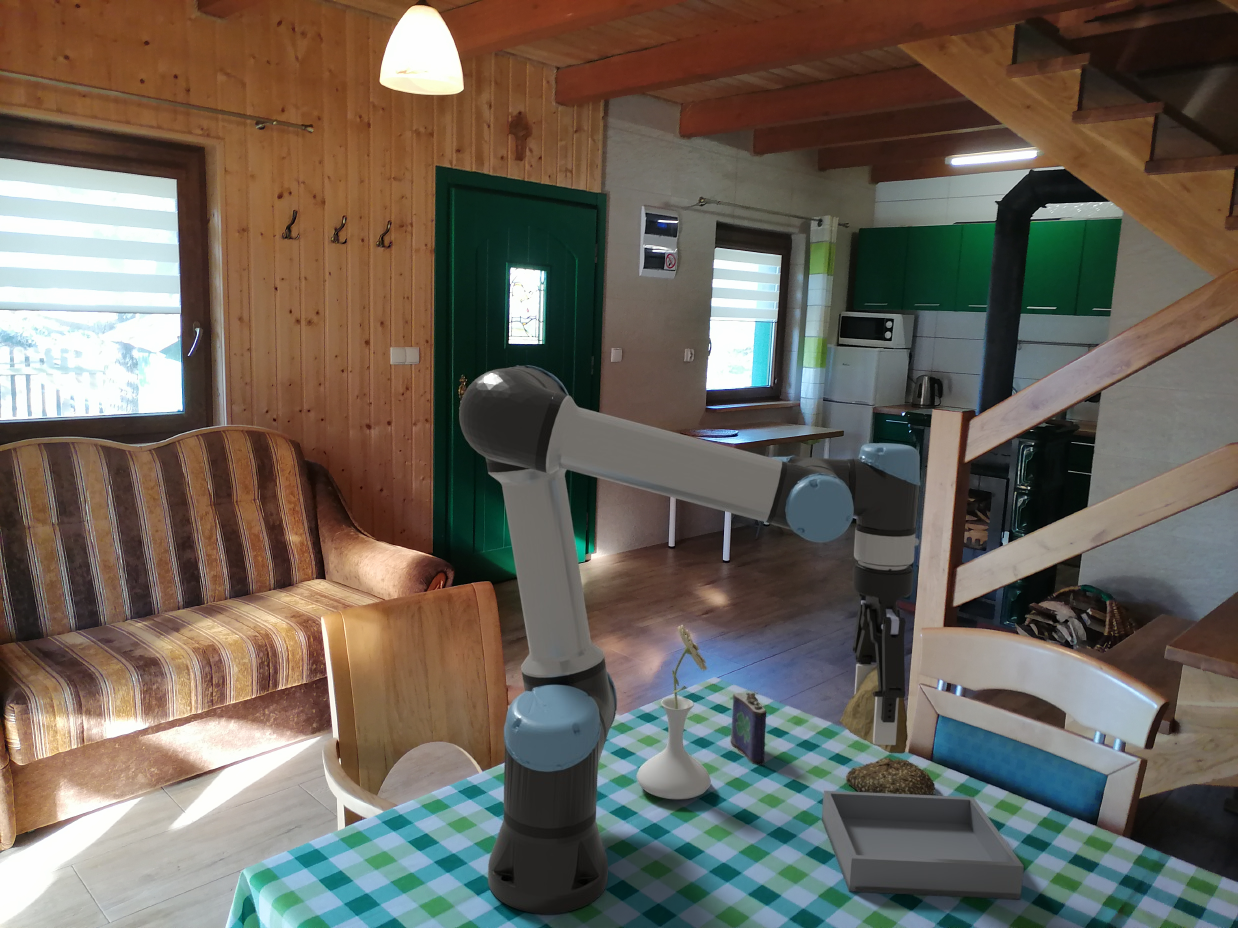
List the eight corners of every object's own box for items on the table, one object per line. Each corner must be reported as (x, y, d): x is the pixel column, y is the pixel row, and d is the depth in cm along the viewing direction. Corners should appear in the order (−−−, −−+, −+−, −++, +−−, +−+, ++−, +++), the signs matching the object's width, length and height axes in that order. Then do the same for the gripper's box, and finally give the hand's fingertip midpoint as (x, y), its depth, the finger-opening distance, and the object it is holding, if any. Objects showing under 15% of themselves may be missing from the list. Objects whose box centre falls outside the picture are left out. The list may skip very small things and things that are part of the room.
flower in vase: (707, 811, 137) (717, 647, 133) (631, 802, 138) (638, 640, 135) (713, 770, 149) (721, 620, 146) (642, 763, 151) (649, 614, 148)
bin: (849, 891, 118) (851, 858, 117) (821, 819, 135) (823, 790, 135) (1020, 899, 118) (1023, 865, 117) (970, 826, 135) (973, 797, 134)
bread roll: (899, 817, 137) (902, 786, 137) (834, 783, 147) (837, 753, 147) (951, 795, 145) (954, 765, 144) (886, 764, 155) (888, 735, 154)
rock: (930, 743, 117) (923, 703, 127) (891, 691, 117) (887, 654, 126) (857, 780, 121) (855, 739, 130) (818, 729, 120) (819, 691, 130)
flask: (727, 741, 160) (731, 682, 159) (742, 739, 161) (746, 680, 160) (753, 765, 152) (757, 703, 150) (769, 763, 153) (773, 701, 151)
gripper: (940, 586, 110) (928, 765, 113) (889, 544, 132) (880, 694, 135) (876, 585, 110) (865, 763, 113) (836, 543, 132) (828, 692, 135)
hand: (873, 725), depth 124 cm, fingers closed on rock, 10 cm apart
